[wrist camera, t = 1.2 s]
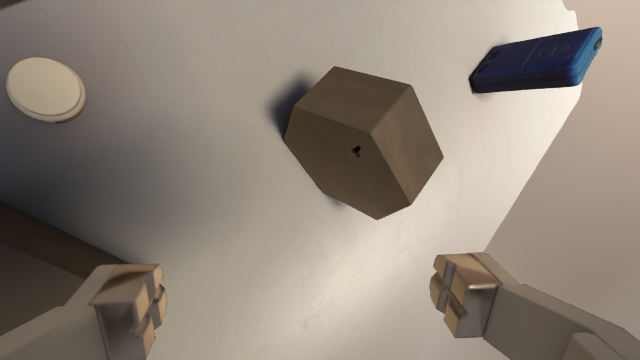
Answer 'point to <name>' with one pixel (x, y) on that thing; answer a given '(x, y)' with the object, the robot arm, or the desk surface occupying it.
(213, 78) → the desk surface
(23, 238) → the dark wooden chest
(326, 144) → the brown hexagonal block
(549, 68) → the blue hard case
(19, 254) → the brown box lid
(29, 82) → the pill bottle
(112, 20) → the desk surface
